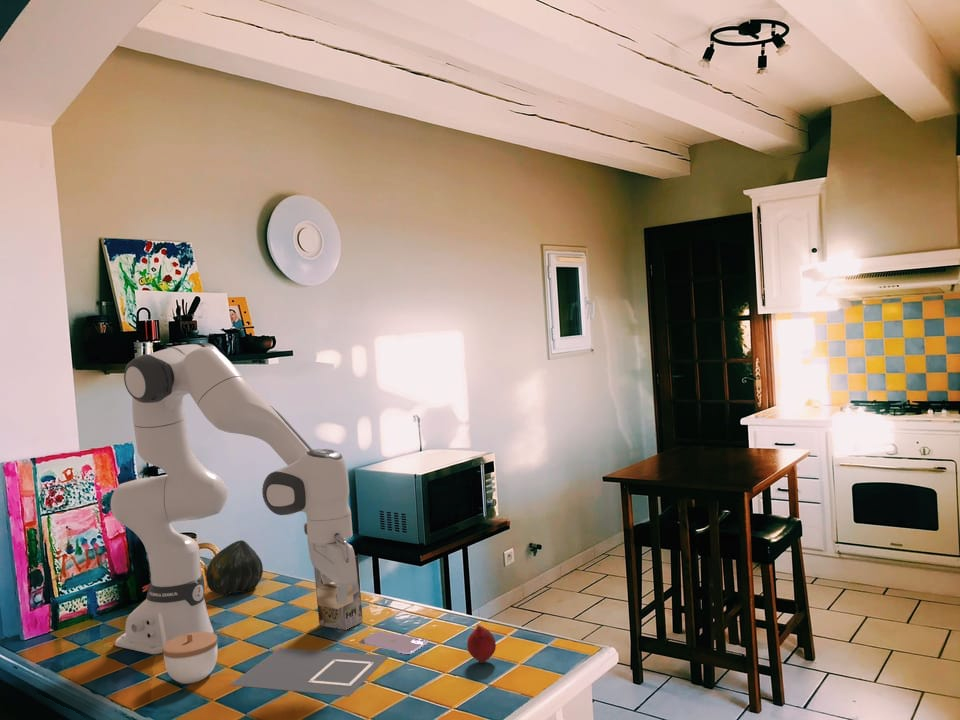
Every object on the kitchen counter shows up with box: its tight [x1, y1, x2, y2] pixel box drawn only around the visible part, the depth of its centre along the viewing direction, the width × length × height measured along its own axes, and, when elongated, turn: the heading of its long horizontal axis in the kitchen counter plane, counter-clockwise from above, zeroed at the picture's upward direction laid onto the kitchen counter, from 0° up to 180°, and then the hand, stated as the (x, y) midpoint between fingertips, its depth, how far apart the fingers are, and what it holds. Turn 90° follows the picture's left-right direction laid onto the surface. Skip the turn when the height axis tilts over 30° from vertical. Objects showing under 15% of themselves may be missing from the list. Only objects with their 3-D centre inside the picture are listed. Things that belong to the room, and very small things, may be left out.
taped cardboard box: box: [316, 582, 354, 609], centre depth 152 cm, size 6×4×4 cm
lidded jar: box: [162, 632, 219, 685], centre depth 156 cm, size 11×11×9 cm
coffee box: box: [313, 555, 364, 631], centre depth 181 cm, size 9×6×16 cm
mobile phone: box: [357, 631, 429, 655], centre depth 167 cm, size 8×1×15 cm
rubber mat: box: [229, 647, 390, 697], centre depth 155 cm, size 27×18×1 cm, turn 72°
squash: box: [205, 539, 264, 596], centre depth 211 cm, size 14×15×15 cm
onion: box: [466, 623, 497, 664], centre depth 154 cm, size 6×6×8 cm
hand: (335, 597), depth 152 cm, fingers closed on taped cardboard box, 7 cm apart
